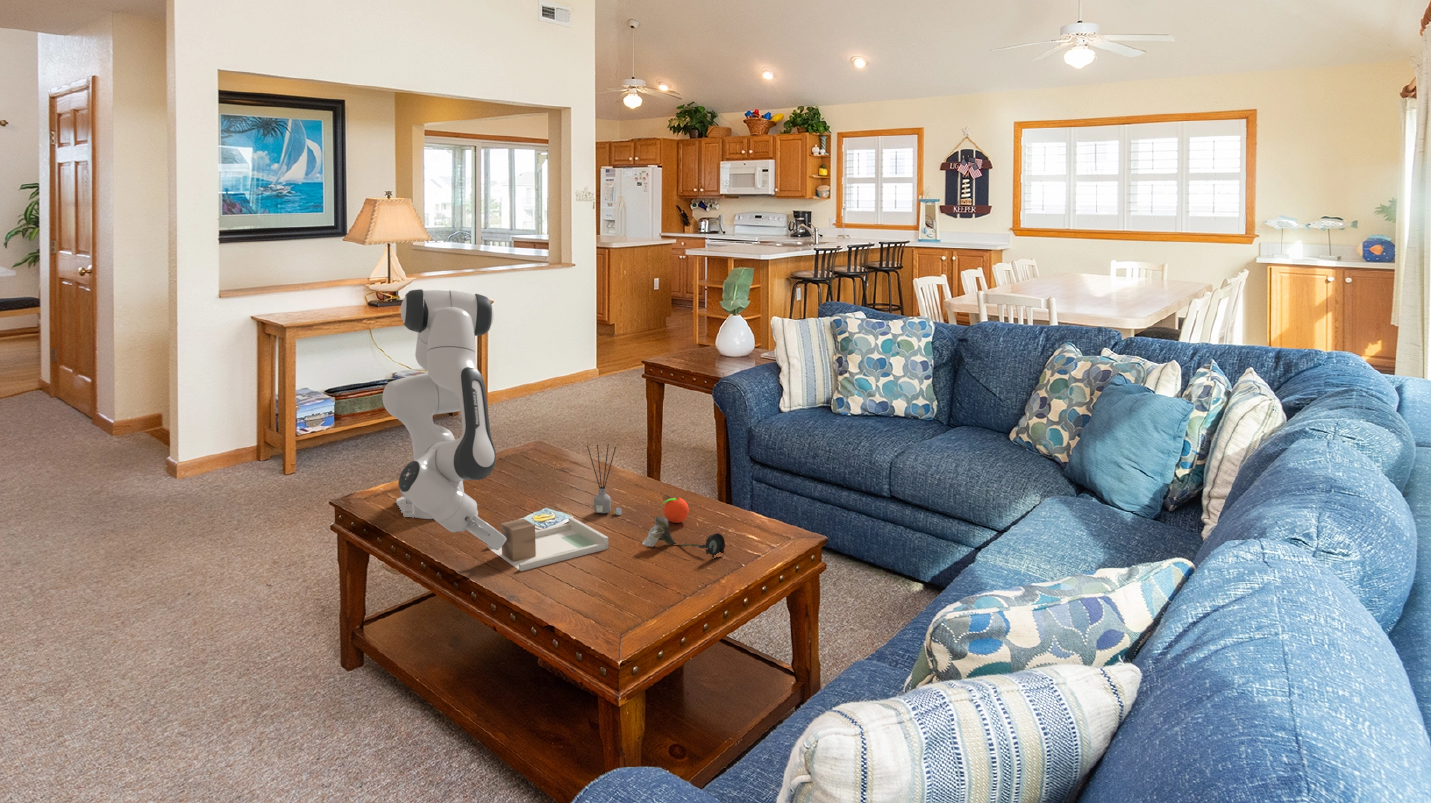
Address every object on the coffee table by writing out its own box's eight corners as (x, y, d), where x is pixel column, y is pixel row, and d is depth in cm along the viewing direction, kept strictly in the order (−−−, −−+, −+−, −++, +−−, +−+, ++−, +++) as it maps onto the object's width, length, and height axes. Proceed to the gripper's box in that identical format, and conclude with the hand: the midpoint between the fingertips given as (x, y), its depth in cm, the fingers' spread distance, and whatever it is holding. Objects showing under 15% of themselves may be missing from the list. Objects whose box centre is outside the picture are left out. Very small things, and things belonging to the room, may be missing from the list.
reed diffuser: (584, 514, 257) (583, 446, 253) (592, 506, 264) (591, 439, 259) (619, 517, 255) (619, 448, 251) (626, 509, 262) (626, 442, 257)
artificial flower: (709, 570, 224) (699, 535, 221) (640, 557, 238) (630, 525, 234) (729, 550, 231) (719, 516, 227) (661, 539, 244) (651, 507, 241)
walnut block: (502, 554, 224) (501, 523, 222) (524, 548, 227) (523, 518, 226) (513, 561, 219) (512, 530, 217) (535, 556, 223) (535, 525, 221)
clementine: (662, 527, 248) (663, 502, 246) (657, 519, 255) (657, 494, 253) (691, 525, 250) (691, 500, 249) (685, 517, 257) (685, 492, 255)
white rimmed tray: (487, 553, 228) (487, 536, 227) (572, 533, 243) (571, 517, 242) (521, 577, 214) (520, 559, 213) (608, 554, 229) (608, 537, 228)
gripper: (486, 513, 204) (527, 545, 212) (449, 490, 220) (488, 520, 228) (468, 536, 202) (509, 568, 210) (432, 511, 218) (472, 541, 226)
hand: (498, 543), depth 219 cm, fingers closed
